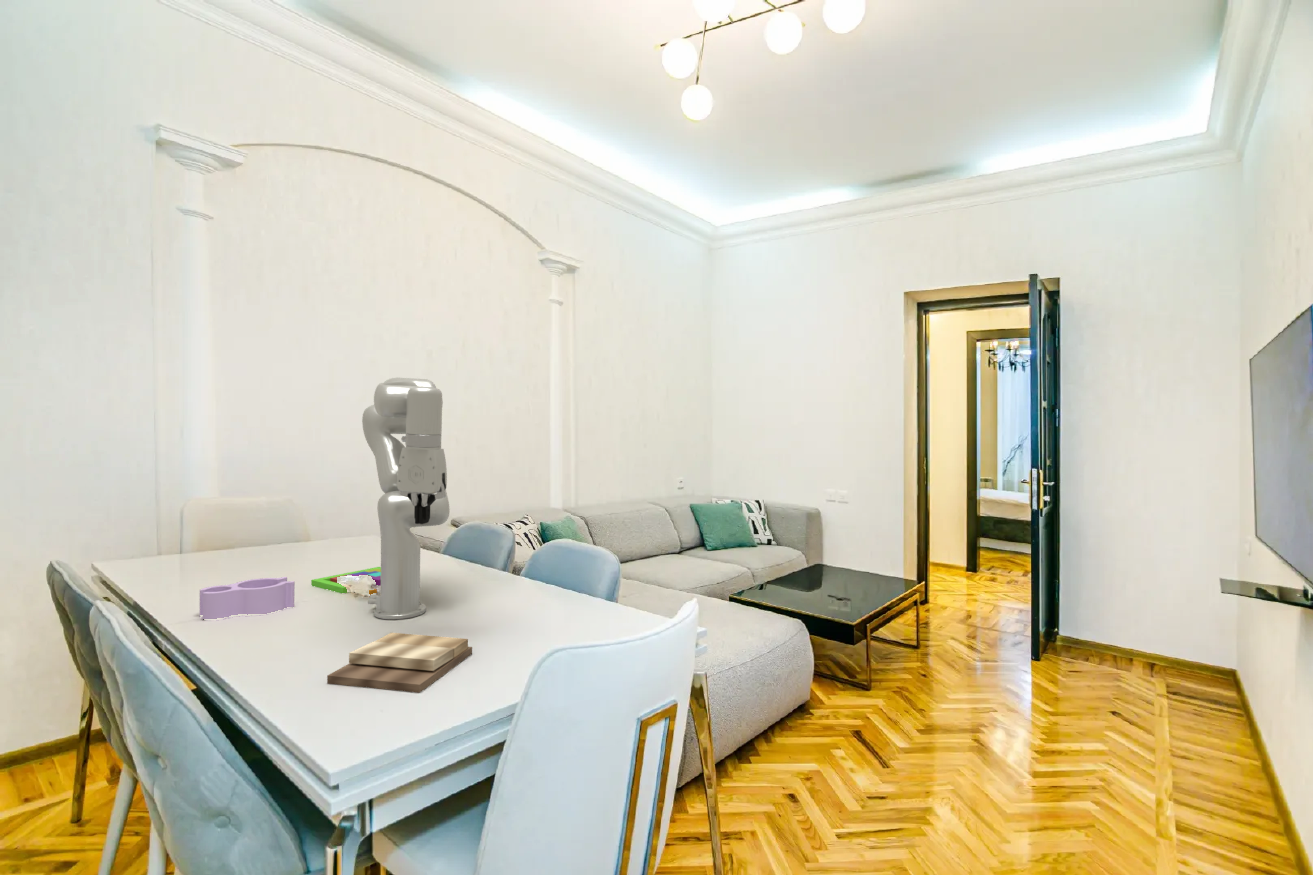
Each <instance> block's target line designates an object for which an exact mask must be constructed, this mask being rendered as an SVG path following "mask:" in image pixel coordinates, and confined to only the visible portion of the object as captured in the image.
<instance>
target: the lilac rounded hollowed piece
mask: <svg viewBox="0 0 1313 875" xmlns="http://www.w3.org/2000/svg"><path fill="white" fill-rule="evenodd" d="M295 583H296V582H295V581H293V580H291V581H289V580H288V576H282V577H264V578H263V577H262V578H252V579H246V580H241V581H238V582H235V583H230V584H222V585H213V586H207V587H204V588H201V589H199V616H200V615H203V617H202V620H203V619H217V618H224V617H229V616H231V615H238V614H247V615H248V614H266V615H268V614H267V613H271V612H275V611H278V610H282V611H284V610H285V609H284V608H286V609H288V608H287V607H294V608H295ZM283 609H284V610H283Z"/></svg>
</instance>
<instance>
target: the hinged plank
mask: <svg viewBox="0 0 1313 875" xmlns="http://www.w3.org/2000/svg"><path fill="white" fill-rule="evenodd" d="M375 641H376V640H373V641H371V642H369V643H367V644H365V645H363V646H361V647H359V648H356V649H354V650H352V651H350V652H349V653H348V664H349V663H354V664H365V665H376V666H386V667H397V668H408V669H419V670H429V671H434V670H435V669H437V668H439V667H440V666H442V665H443V664H445V663H446V662H448V661H450V660H451V659H453V655H454V648H445V647H433V646H422V645H410V644H398V643H387V642H375Z"/></svg>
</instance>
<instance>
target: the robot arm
mask: <svg viewBox="0 0 1313 875" xmlns="http://www.w3.org/2000/svg"><path fill="white" fill-rule="evenodd" d="M443 403H444V402H443V392H442V391H441V390H440V389H439V388H437V386H436V384H435V383H434V382H433V381H432V380H430V379H428V378H426V379H425V378H411V377H392V378H389V379H386V380H385V381H384V382H380V383H379V384H377V386H376V387H375V391H374V395H373V404H372V405H369V406H367V408H365V409H364V411H363V413H362V418H361V422H362V423H361V424H362V430H363V431H362V432H363V435H364V438H365V441H366V444H368V446H369V448H370V450H371V452H372V454H373V456H374V459H375V465H376V472H377V476H378V477H377V478H378V483H379V486H380V489H381V491H382V492H383V493H384V494H382V495H381V496H380V498H379V499H378V501H377V516H378V523H379V531H380V567H381V586H380V594H379V595H378V594H377V595H370V596H369V597H368V599H367V604H368V605H369V604H370V605H376V606H375V608H374V609H373V616H374V617H376V618H378V619H381V620H405V619H409V618H415V617H418V616H421V615H423V614H424V613H425V612H427V606H426V604H424V603H421V601H420V600H421V598H420V597H421V543H420V541H419V539H418V538H417V537H416V535H415V534H414V533H413V532H412V530H410V529H412V528H417V527H421V528H422V527H432V526H434V527H435V526H442V525H444V524H445V523H446V522H447V521H448V520H449V517H450V510H451V508H450V502H449V497H448V493H447V483H448V473H447V472H448V470H447V461H446V454H445V450H444V449H445V448H442V430H443V429H442V424H443V421H442V420H443ZM393 435H402V436H401V441H400V440H399V439H398V438H396V437H395V436H393ZM402 442H403V443H404V444H403V443H402Z"/></svg>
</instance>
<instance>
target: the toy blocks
mask: <svg viewBox="0 0 1313 875" xmlns="http://www.w3.org/2000/svg"><path fill="white" fill-rule="evenodd" d="M347 575H352V576H359V575H368V576H371V577H372V579H373V580H375V582H376V585H378V586H377V587H381V566H376V567H370V568H365V569H360V570H355V571H350V572H345V573H340V574H335V575H330V576H325V577H320V578H314V579H311V582H310V583H311V585H312V586H311V585H310V586H311V587H314V586H315V587H314V588H318V589H322V590H326V589H328V590H327V591H330V590H331V591H330V592H334V591H335V593H339V594H342V593H345V594H348V593H347V589H346V587H344V586H342V585H341V584H339V583H337V577H340V576H347ZM376 585H375V586H376ZM373 589H374V590H369V594H370V595H371V594H373V593H377V594H378V589H377V588H373Z"/></svg>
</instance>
